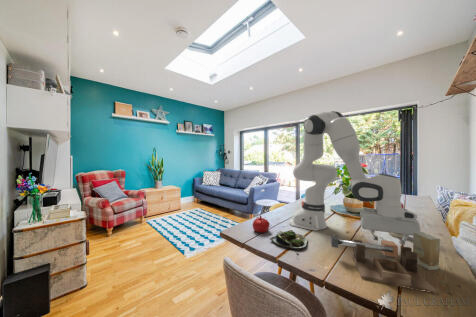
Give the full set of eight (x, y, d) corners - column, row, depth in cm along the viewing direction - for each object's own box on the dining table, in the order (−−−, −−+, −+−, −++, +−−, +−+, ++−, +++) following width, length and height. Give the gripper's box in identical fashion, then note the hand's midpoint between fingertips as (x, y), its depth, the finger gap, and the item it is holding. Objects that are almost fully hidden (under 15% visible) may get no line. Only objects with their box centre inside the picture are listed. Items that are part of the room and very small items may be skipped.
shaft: (331, 246, 75) (331, 238, 75) (330, 242, 78) (330, 235, 78) (394, 256, 67) (394, 247, 67) (390, 252, 71) (390, 243, 71)
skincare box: (412, 260, 73) (412, 231, 73) (421, 260, 74) (421, 231, 73) (430, 270, 67) (430, 239, 67) (440, 270, 67) (440, 238, 67)
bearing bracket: (361, 278, 63) (361, 256, 63) (352, 257, 76) (352, 239, 76) (436, 293, 56) (436, 269, 56) (411, 267, 69) (411, 247, 69)
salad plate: (278, 230, 105) (277, 222, 105) (309, 236, 97) (309, 228, 97) (267, 245, 88) (267, 235, 88) (304, 254, 80) (304, 244, 80)
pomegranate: (264, 236, 98) (264, 220, 97) (249, 231, 104) (249, 216, 103) (272, 229, 106) (272, 214, 105) (258, 225, 112) (258, 211, 111)
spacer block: (384, 255, 77) (385, 244, 77) (381, 250, 81) (381, 239, 81) (397, 257, 76) (397, 246, 76) (393, 252, 80) (393, 241, 80)
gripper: (361, 209, 79) (361, 240, 79) (422, 215, 70) (422, 249, 70) (358, 206, 85) (358, 234, 84) (414, 211, 76) (414, 243, 76)
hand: (388, 241), depth 77 cm, fingers open, 8 cm apart
